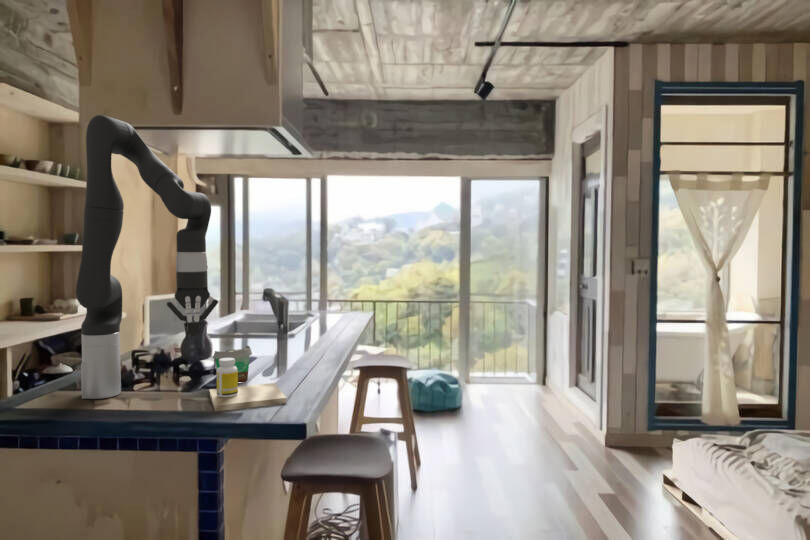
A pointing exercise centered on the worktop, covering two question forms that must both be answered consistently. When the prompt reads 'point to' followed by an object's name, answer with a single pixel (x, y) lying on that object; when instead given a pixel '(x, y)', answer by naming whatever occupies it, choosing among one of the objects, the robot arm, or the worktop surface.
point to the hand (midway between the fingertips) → (193, 336)
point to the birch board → (249, 397)
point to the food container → (237, 361)
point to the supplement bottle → (227, 378)
